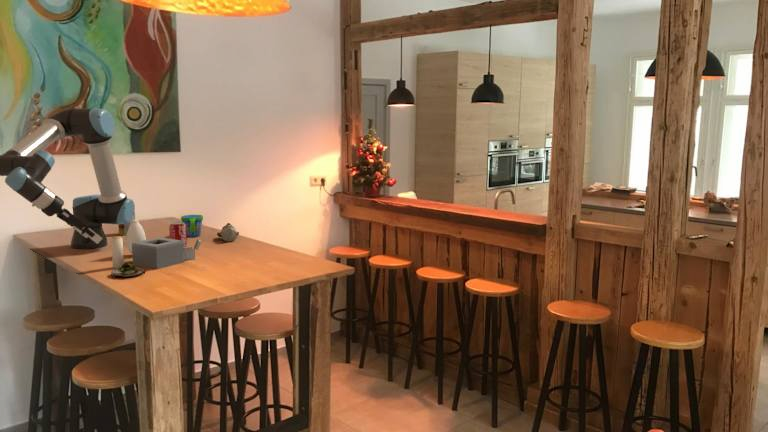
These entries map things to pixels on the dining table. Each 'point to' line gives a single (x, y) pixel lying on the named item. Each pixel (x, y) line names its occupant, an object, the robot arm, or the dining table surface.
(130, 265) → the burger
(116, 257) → the coin roll
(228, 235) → the ceramic sculpture
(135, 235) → the sauce bottle
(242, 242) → the dining table surface
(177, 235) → the soda can
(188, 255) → the lighter
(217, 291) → the dining table surface
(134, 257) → the gray square-hole box
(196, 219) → the snack cup
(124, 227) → the canned food
